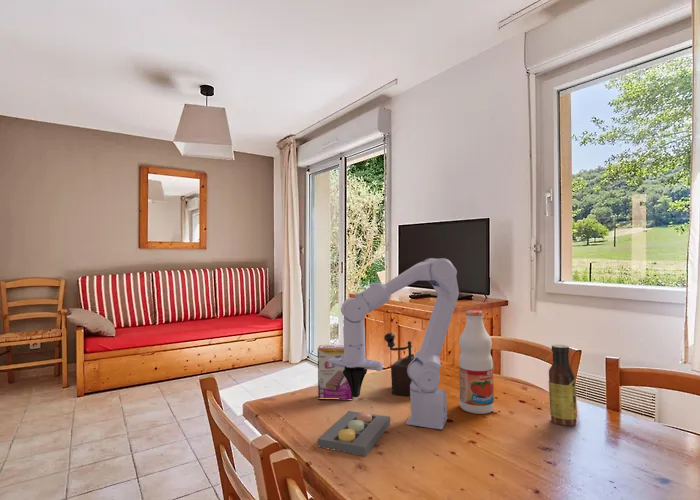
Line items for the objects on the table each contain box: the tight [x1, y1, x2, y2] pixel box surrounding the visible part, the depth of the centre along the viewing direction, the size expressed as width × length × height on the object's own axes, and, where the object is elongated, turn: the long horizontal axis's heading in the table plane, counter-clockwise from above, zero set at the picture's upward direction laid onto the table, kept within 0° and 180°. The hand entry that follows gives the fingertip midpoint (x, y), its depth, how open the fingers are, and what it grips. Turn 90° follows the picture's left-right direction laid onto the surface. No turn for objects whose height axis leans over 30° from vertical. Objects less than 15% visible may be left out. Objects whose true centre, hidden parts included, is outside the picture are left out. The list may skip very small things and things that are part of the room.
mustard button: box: [339, 429, 355, 443], centre depth 95 cm, size 4×4×2 cm
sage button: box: [348, 420, 364, 433], centre depth 101 cm, size 4×4×2 cm
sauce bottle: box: [548, 344, 578, 427], centre depth 105 cm, size 7×6×20 cm
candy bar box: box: [317, 344, 354, 400], centre depth 127 cm, size 11×5×16 cm, turn 84°
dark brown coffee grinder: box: [383, 332, 415, 398], centre depth 133 cm, size 16×11×18 cm
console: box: [317, 410, 391, 457], centre depth 101 cm, size 12×18×2 cm, turn 156°
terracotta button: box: [357, 411, 373, 423], centre depth 106 cm, size 4×4×2 cm
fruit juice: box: [458, 309, 495, 415], centre depth 116 cm, size 9×9×28 cm
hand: (356, 395), depth 105 cm, fingers closed
